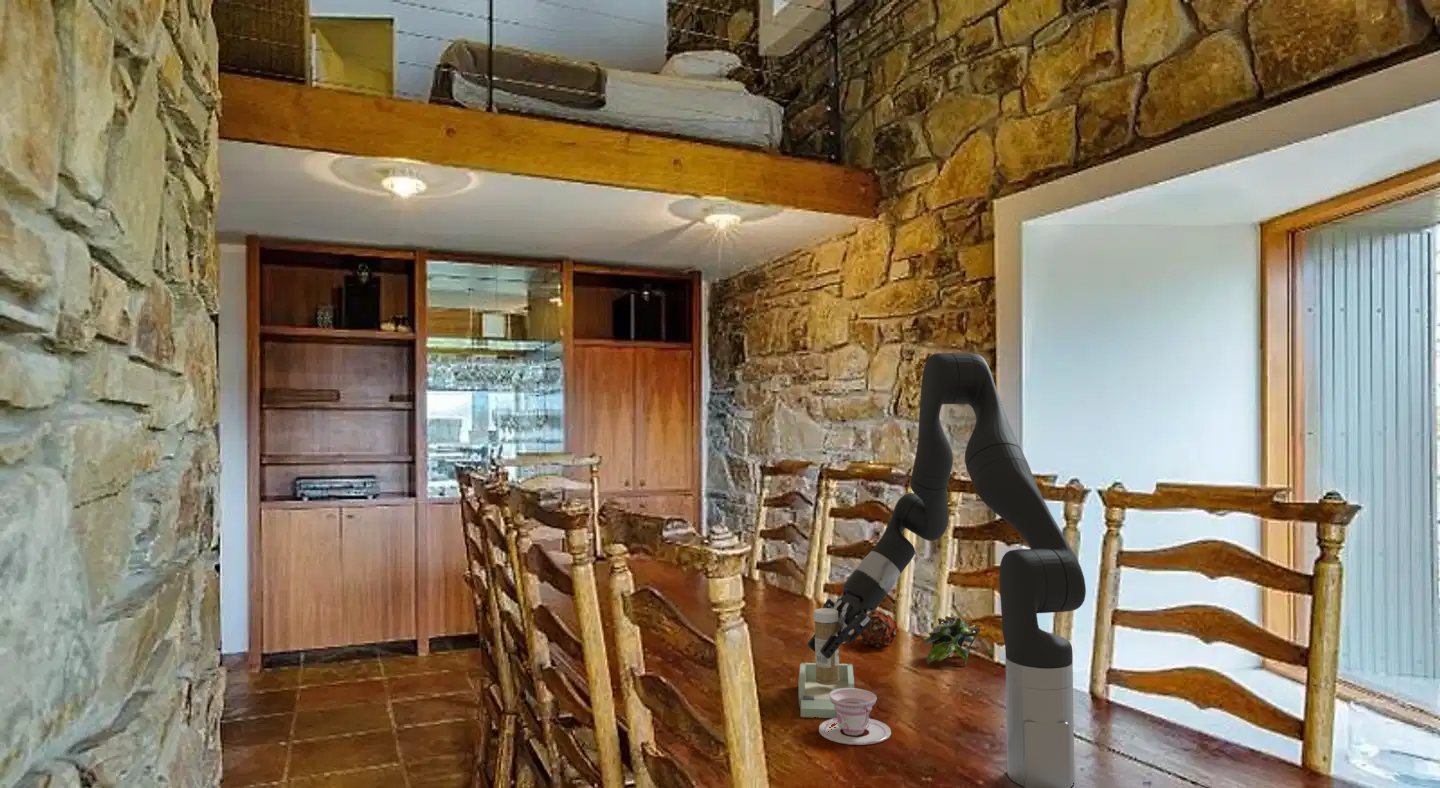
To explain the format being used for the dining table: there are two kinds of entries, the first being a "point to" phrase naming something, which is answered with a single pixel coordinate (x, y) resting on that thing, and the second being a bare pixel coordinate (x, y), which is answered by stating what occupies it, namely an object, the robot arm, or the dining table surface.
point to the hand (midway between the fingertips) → (817, 651)
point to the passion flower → (950, 639)
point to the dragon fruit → (879, 630)
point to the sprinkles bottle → (823, 630)
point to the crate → (820, 691)
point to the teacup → (854, 718)
